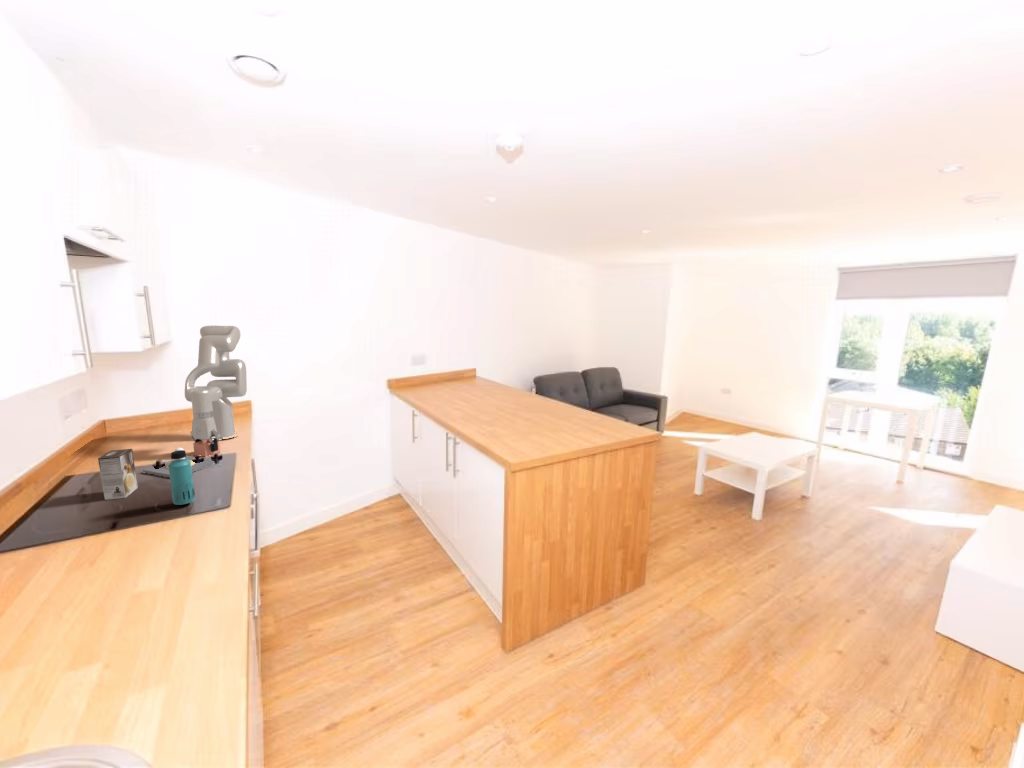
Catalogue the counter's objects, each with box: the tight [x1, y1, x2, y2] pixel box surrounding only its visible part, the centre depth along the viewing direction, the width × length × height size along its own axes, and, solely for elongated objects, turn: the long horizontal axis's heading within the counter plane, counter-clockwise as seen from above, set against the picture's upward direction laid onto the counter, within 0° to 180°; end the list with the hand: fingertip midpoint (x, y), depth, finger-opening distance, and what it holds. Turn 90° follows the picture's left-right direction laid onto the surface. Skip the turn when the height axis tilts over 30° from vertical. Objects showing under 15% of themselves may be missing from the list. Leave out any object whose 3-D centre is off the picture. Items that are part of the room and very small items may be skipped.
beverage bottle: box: [168, 449, 196, 506], centre depth 143 cm, size 6×7×20 cm
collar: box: [192, 439, 221, 457], centre depth 194 cm, size 7×7×6 cm
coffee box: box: [97, 448, 139, 501], centre depth 150 cm, size 9×6×16 cm
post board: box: [142, 447, 214, 479], centre depth 176 cm, size 18×18×9 cm
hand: (206, 449), depth 194 cm, fingers open, 9 cm apart
